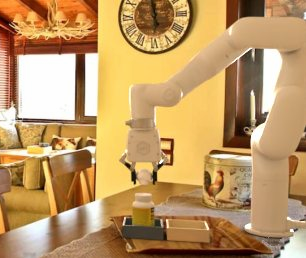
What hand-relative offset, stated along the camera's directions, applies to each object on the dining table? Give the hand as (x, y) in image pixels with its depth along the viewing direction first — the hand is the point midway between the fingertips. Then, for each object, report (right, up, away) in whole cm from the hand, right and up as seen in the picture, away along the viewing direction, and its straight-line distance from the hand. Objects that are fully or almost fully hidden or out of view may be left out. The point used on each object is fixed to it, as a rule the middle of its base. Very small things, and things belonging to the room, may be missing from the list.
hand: (144, 183), depth 156 cm
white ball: (0, -1, 0) cm, 1 cm away
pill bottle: (-2, -13, -9) cm, 16 cm away
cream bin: (+9, -14, -12) cm, 20 cm away
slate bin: (-2, -14, -9) cm, 16 cm away
